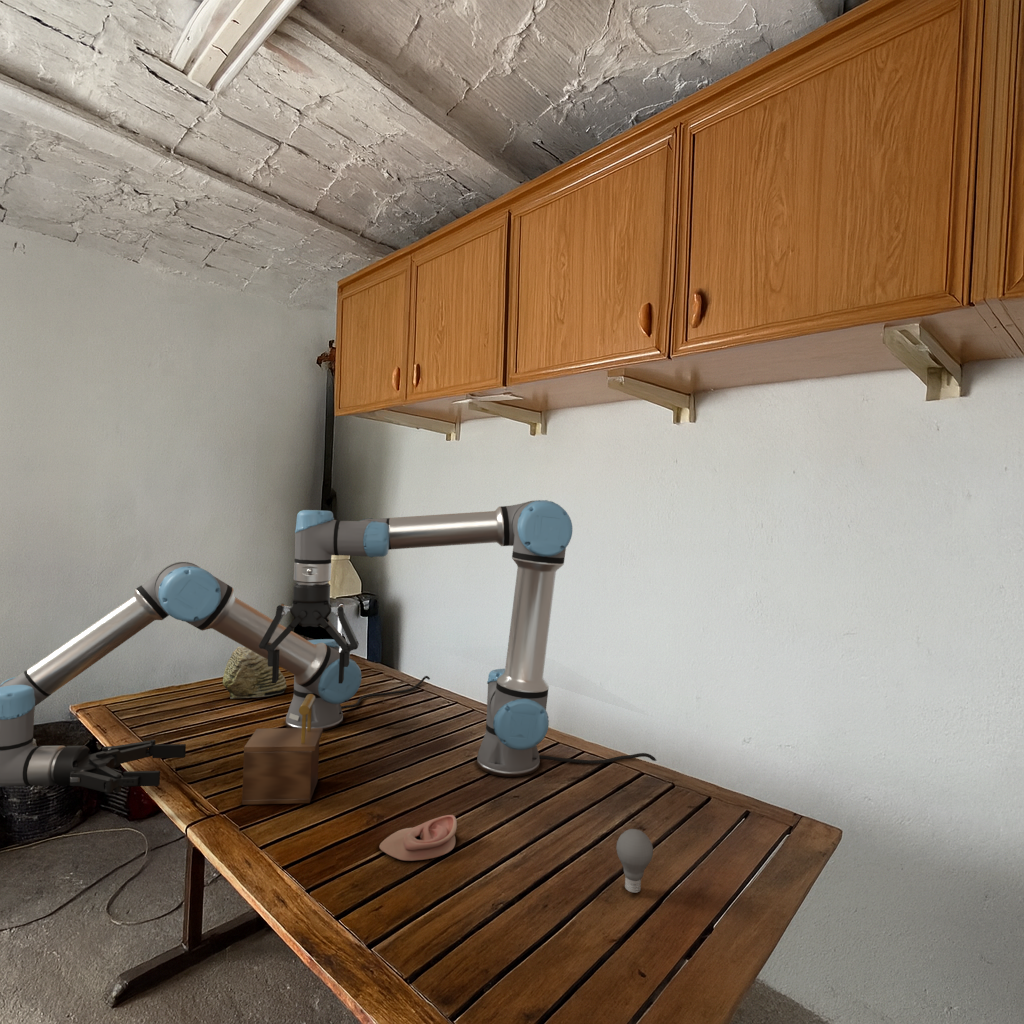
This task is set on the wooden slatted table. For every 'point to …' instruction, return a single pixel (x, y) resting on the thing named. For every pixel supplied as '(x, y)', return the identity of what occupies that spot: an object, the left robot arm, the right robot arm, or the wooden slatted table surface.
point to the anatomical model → (422, 840)
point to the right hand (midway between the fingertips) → (308, 681)
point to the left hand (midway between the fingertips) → (173, 764)
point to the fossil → (250, 676)
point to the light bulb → (634, 857)
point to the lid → (287, 735)
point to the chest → (279, 777)
